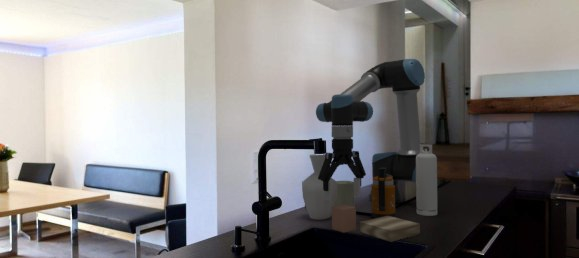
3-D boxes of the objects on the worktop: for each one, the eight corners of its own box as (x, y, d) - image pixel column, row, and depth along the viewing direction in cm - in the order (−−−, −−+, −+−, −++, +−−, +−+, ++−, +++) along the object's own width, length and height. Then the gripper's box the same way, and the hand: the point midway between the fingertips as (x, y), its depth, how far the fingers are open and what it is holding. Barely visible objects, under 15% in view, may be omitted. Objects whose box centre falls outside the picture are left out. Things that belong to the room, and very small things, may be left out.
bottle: (438, 211, 162) (437, 144, 162) (436, 216, 155) (435, 145, 155) (417, 210, 166) (416, 144, 165) (415, 214, 159) (414, 145, 158)
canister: (396, 215, 157) (395, 166, 157) (394, 222, 147) (393, 169, 147) (373, 214, 160) (372, 165, 160) (369, 221, 150) (368, 168, 150)
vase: (318, 211, 168) (317, 152, 167) (345, 216, 158) (344, 154, 157) (294, 217, 158) (293, 155, 157) (321, 223, 148) (320, 157, 147)
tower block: (332, 228, 141) (331, 206, 141) (344, 226, 144) (344, 204, 144) (343, 232, 136) (342, 209, 136) (356, 229, 139) (355, 207, 139)
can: (345, 211, 166) (344, 183, 166) (329, 208, 173) (328, 181, 173) (358, 208, 172) (358, 180, 172) (342, 205, 179) (342, 178, 179)
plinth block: (359, 233, 136) (359, 221, 136) (388, 226, 144) (388, 215, 144) (391, 243, 124) (390, 230, 124) (420, 235, 132) (420, 223, 132)
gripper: (321, 139, 129) (321, 204, 129) (375, 137, 143) (375, 195, 143) (307, 139, 135) (308, 200, 136) (360, 137, 149) (361, 193, 149)
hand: (342, 198), depth 139 cm, fingers open, 13 cm apart
